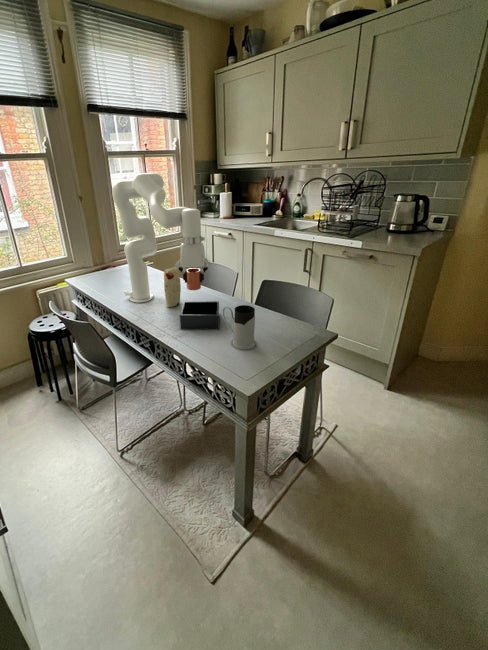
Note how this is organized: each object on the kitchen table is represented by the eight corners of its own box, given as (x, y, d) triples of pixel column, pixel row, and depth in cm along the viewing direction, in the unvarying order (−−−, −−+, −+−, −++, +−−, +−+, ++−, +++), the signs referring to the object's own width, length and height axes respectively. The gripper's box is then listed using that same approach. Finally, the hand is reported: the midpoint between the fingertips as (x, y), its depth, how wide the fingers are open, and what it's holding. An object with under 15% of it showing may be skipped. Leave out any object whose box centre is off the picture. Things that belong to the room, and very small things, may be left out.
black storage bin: (180, 329, 138) (179, 315, 135) (184, 314, 151) (183, 301, 148) (218, 329, 136) (218, 315, 133) (219, 314, 149) (219, 301, 146)
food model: (172, 310, 156) (169, 271, 148) (162, 306, 160) (159, 269, 152) (184, 303, 163) (182, 266, 155) (175, 300, 167) (172, 264, 159)
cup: (186, 290, 135) (185, 272, 132) (187, 285, 140) (186, 268, 137) (200, 290, 134) (199, 272, 131) (201, 285, 140) (200, 268, 136)
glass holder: (247, 351, 119) (248, 316, 113) (216, 340, 128) (216, 306, 122) (259, 342, 125) (260, 307, 119) (229, 331, 134) (229, 299, 128)
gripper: (213, 237, 131) (214, 278, 139) (172, 238, 133) (175, 279, 141) (212, 241, 124) (213, 284, 132) (169, 242, 126) (172, 285, 134)
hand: (193, 281), depth 136 cm, fingers closed on cup, 6 cm apart
